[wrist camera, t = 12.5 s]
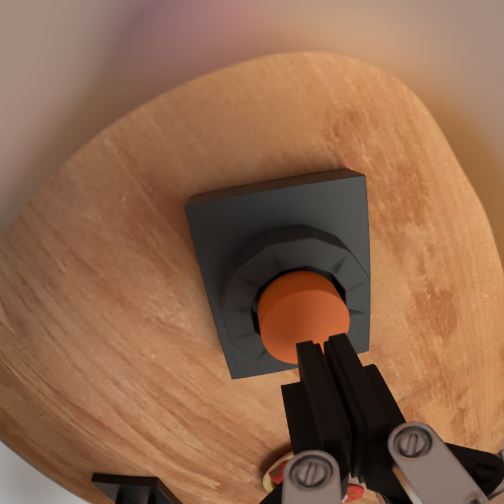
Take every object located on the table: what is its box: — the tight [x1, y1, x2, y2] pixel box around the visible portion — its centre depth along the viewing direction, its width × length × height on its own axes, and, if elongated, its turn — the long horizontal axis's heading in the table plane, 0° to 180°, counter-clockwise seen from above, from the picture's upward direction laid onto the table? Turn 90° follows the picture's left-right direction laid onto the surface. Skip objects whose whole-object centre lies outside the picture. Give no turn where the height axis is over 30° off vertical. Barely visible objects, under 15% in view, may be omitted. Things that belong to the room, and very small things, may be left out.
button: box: [258, 271, 350, 364], centre depth 13 cm, size 4×4×2 cm
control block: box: [185, 169, 370, 379], centre depth 15 cm, size 10×8×4 cm
